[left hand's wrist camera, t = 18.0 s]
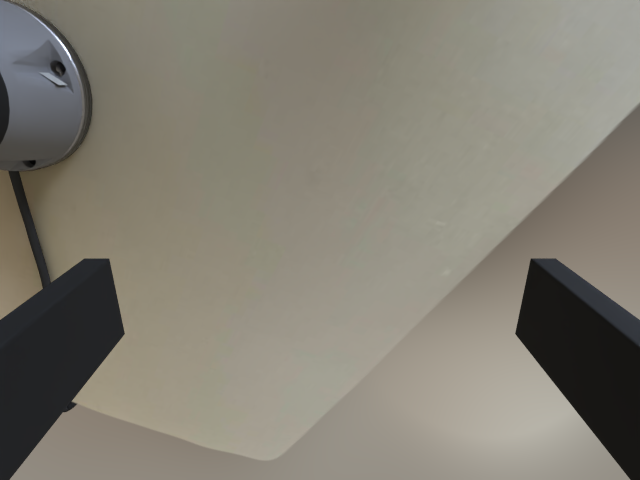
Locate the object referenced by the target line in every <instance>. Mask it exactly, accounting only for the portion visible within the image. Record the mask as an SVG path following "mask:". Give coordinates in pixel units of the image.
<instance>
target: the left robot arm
mask: <svg viewBox="0 0 640 480" xmlns="http://www.w3.org/2000/svg"><path fill="white" fill-rule="evenodd" d="M91 114H92V97H91V90H90V85H89V81H88V78H87V75H86V72H85V70H84V67H83V65H82V63H81V61H80V59H79V57H78V55H77V54H76V52H75V50H74V49H73V48H72V46H71V45H70V43H69V42H68V41H67V39H66V38H65V37H64V36H63V35H62V34H61V33H60V32H59V31H58V30H57V28H55V27H54V26H53V25H52V24H51V23H50V22H49V21H47V20H46V19H45V18H43V17H42V16H41V15H39V14H37V13H36V12H34V11H33V10H31V9H29V8H27V7H25V6H22V5H20V4H18V3H15V2H12V1H8V0H0V170H7V171H9V175H10V178H11V182H12V185H13V189H14V192H15V195H16V199H17V202H18V205H19V208H20V212H21V215H22V218H23V221H24V224H25V227H26V231H27V234H28V238H29V241H30V245H31V248H32V251H33V254H34V257H35V260H36V264H37V267H38V270H39V274H40V277H41V281H42V286H43V289H42V290H41V291H39V292H38V293H37V294H35V295H34V296H33V297H31V298H30V299H29V300H27V301H26V302H24V303H23V304H22V305H20V306H19V307H18V308H16V309H15V310H13V311H12V312H11V313H9V314H8V315H7V316H5V317H4V318H2V319H1V320H0V480H10V478H11V477H12V476H13V474H14V473H15V472H16V471H17V469H18V468H19V467H20V466H21V464H22V463H23V462H24V461H25V459H26V458H27V457H28V456H29V454H30V453H31V452H32V450H33V449H34V448H35V447H36V445H37V444H38V443H39V442H40V440H41V439H42V438H43V437H44V435H45V434H46V433H47V431H48V430H49V429H50V428H51V426H52V425H53V424H54V423H55V421H56V420H57V419H58V418H59V416H60V415H61V414H62V412H67V411H69V410H71V409H72V408H74V407H75V406H76V405H77V403H74V402H72V400H73V399H74V397H75V396H76V395H77V394H78V392H79V391H80V390H81V388H82V387H83V386H84V385H85V383H86V382H87V381H88V380H89V378H90V377H91V376H92V375H93V373H94V372H95V371H96V369H97V368H98V367H99V366H100V364H101V363H102V362H103V361H104V359H105V358H106V357H107V356H108V354H109V353H110V352H111V351H112V349H113V348H114V347H115V345H116V344H117V343H118V342H119V340H120V339H121V338H122V337H123V335H124V334H125V333H124V328H123V324H122V319H121V314H120V309H119V304H118V299H117V294H116V290H115V285H114V280H113V275H112V270H111V265H110V261H109V259H83V260H82V261H81V262H79V263H78V264H76V265H75V266H74V267H72V268H71V269H70V270H68V271H67V272H66V273H64V274H63V275H61V276H60V277H59V278H57V279H56V280H55V281H53V282H52V283H51V282H50V278H49V274H48V270H47V267H46V263H45V260H44V257H43V253H42V250H41V247H40V244H39V240H38V237H37V233H36V229H35V226H34V222H33V219H32V216H31V213H30V209H29V206H28V203H27V199H26V196H25V192H24V189H23V185H22V181H21V178H20V174H19V171H32V170H37V169H41V168H44V167H48V166H51V165H54V164H57V163H59V162H61V161H63V160H64V159H66V158H67V157H69V156H70V155H71V154H72V153H74V151H75V150H76V149H77V148H78V147H79V146H80V144H81V143H82V141H83V140H84V138H85V136H86V134H87V131H88V128H89V125H90V121H91ZM515 334H516V335H517V337H518V338H519V339H520V340H521V342H522V343H523V344H524V345H525V347H526V348H527V349H528V351H529V352H530V353H531V354H532V355H533V357H534V358H535V359H536V361H537V362H538V363H539V364H540V366H541V367H542V368H543V369H544V371H545V372H546V373H547V375H548V376H549V377H550V378H551V380H552V381H553V382H554V383H555V385H556V386H557V387H558V388H559V390H560V391H561V392H562V394H563V395H564V396H565V397H566V399H567V400H568V401H569V402H570V404H571V405H572V406H573V407H574V409H575V410H576V411H577V413H578V414H579V415H580V416H581V418H582V419H583V420H584V421H585V423H586V424H587V425H588V426H589V428H590V429H591V430H592V431H593V433H594V434H595V435H596V437H597V438H598V439H599V440H600V442H601V443H602V444H603V445H604V447H605V448H606V449H607V450H608V452H609V453H610V454H611V456H612V457H613V458H614V459H615V460H616V462H617V463H618V464H619V466H620V467H621V468H622V469H623V471H624V472H625V473H626V474H627V476H628V477H629V478H630V480H640V320H639V319H637V318H636V317H635V316H633V315H632V314H631V313H629V312H628V311H627V310H625V309H624V308H622V307H621V306H620V305H618V304H617V303H616V302H614V301H613V300H611V299H610V298H609V297H607V296H606V295H605V294H603V293H602V292H601V291H599V290H598V289H596V288H595V287H594V286H592V285H591V284H590V283H588V282H587V281H585V280H584V279H583V278H581V277H580V276H579V275H577V274H576V273H574V272H573V271H572V270H570V269H569V268H568V267H566V266H565V265H564V264H562V263H561V262H559V261H558V260H557V259H531V261H530V266H529V270H528V275H527V280H526V285H525V290H524V294H523V299H522V304H521V309H520V314H519V319H518V324H517V328H516V333H515Z"/></svg>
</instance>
